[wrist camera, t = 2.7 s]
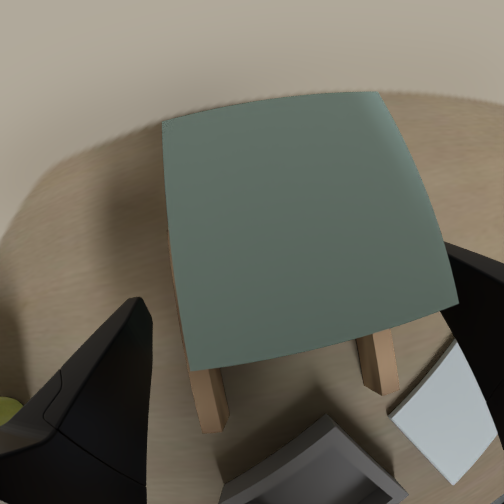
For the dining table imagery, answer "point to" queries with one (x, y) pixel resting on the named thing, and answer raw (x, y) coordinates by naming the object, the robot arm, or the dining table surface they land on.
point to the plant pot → (8, 409)
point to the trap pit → (316, 473)
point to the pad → (447, 416)
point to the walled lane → (212, 390)
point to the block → (297, 227)
